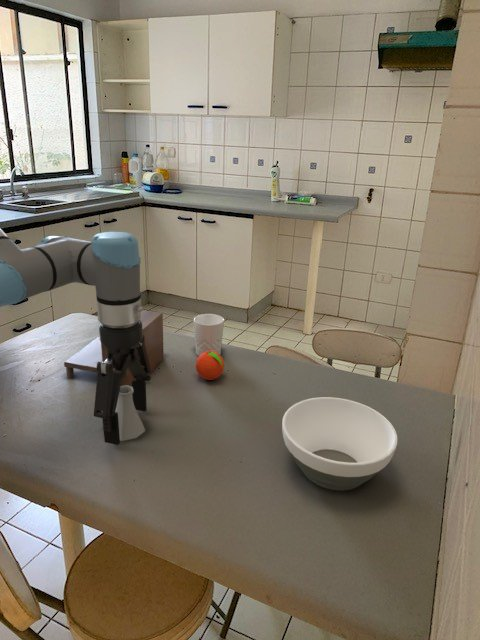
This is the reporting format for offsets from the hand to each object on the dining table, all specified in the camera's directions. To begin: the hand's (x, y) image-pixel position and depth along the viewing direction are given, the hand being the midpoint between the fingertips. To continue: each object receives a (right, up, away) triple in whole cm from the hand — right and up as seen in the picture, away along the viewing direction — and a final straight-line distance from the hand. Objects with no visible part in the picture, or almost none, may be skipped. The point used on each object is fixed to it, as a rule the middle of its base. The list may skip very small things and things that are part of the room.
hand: (126, 425), depth 91 cm
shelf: (-8, +8, +24) cm, 27 cm away
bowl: (+39, -7, -7) cm, 40 cm away
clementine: (+15, +6, +22) cm, 28 cm away
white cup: (+14, +11, +35) cm, 39 cm away
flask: (0, -2, +1) cm, 2 cm away
